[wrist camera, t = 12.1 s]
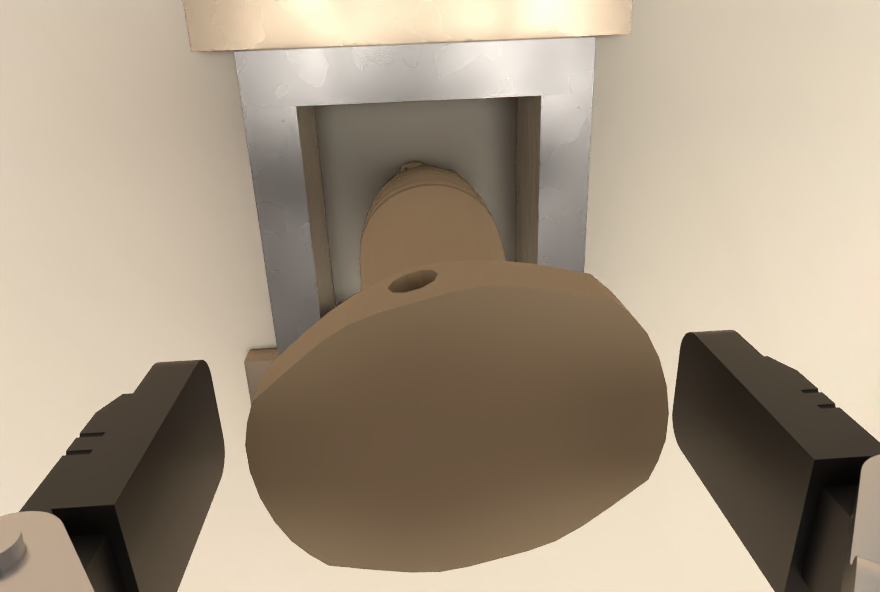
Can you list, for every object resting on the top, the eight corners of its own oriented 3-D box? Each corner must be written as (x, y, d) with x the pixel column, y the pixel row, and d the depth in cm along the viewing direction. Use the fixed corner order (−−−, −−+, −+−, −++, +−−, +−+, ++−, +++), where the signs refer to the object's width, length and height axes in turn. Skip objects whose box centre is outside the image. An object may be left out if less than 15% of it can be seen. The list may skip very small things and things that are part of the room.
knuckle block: (174, -109, 20) (122, -141, 16) (630, -122, 20) (682, -156, 17) (265, 446, 27) (244, 511, 24) (595, 424, 28) (626, 484, 24)
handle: (522, 238, 25) (687, 508, 11) (359, 285, 25) (313, 608, 11) (491, 111, 23) (641, 237, 9) (316, 164, 23) (195, 365, 9)
